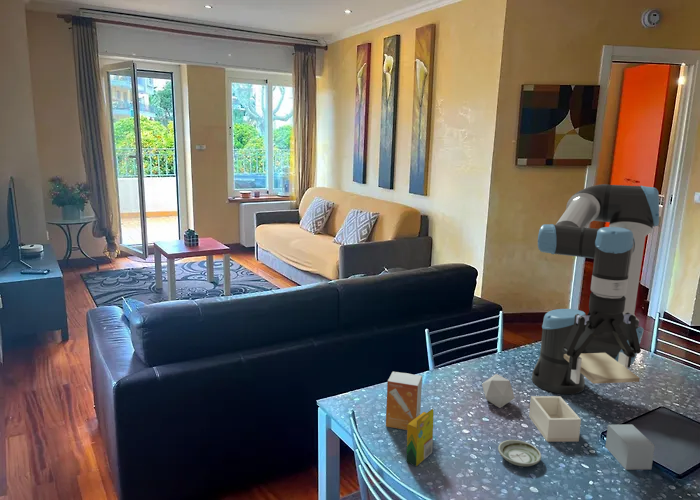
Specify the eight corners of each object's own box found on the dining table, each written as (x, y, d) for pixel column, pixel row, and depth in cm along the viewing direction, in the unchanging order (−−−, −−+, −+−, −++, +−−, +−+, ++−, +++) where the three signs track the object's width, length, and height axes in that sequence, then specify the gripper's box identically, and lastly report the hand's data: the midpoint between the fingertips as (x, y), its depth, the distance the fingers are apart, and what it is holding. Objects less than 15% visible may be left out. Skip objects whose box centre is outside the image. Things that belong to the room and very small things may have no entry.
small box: (385, 427, 134) (386, 380, 132) (390, 415, 140) (392, 370, 138) (416, 432, 132) (418, 385, 129) (420, 420, 138) (422, 375, 135)
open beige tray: (547, 441, 129) (549, 419, 128) (529, 416, 140) (530, 396, 139) (578, 441, 129) (581, 419, 128) (558, 416, 141) (560, 396, 140)
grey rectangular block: (625, 469, 118) (628, 445, 117) (605, 446, 127) (608, 424, 126) (651, 469, 118) (654, 445, 117) (629, 446, 127) (632, 424, 126)
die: (519, 409, 146) (515, 374, 150) (508, 404, 140) (504, 369, 144) (491, 411, 150) (488, 377, 154) (479, 407, 144) (476, 372, 148)
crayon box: (422, 448, 125) (424, 403, 123) (432, 452, 124) (435, 408, 121) (405, 462, 120) (407, 416, 117) (416, 467, 118) (418, 420, 116)
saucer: (516, 477, 115) (517, 467, 115) (488, 453, 124) (489, 444, 123) (549, 467, 119) (550, 457, 118) (520, 444, 128) (521, 435, 127)
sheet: (593, 383, 118) (593, 379, 117) (563, 357, 131) (563, 354, 131) (639, 381, 118) (639, 377, 118) (605, 356, 132) (605, 352, 132)
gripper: (567, 300, 116) (558, 389, 121) (666, 297, 118) (653, 386, 123) (552, 290, 123) (544, 375, 128) (645, 288, 125) (634, 371, 130)
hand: (597, 380), depth 126 cm, fingers closed on sheet, 11 cm apart
